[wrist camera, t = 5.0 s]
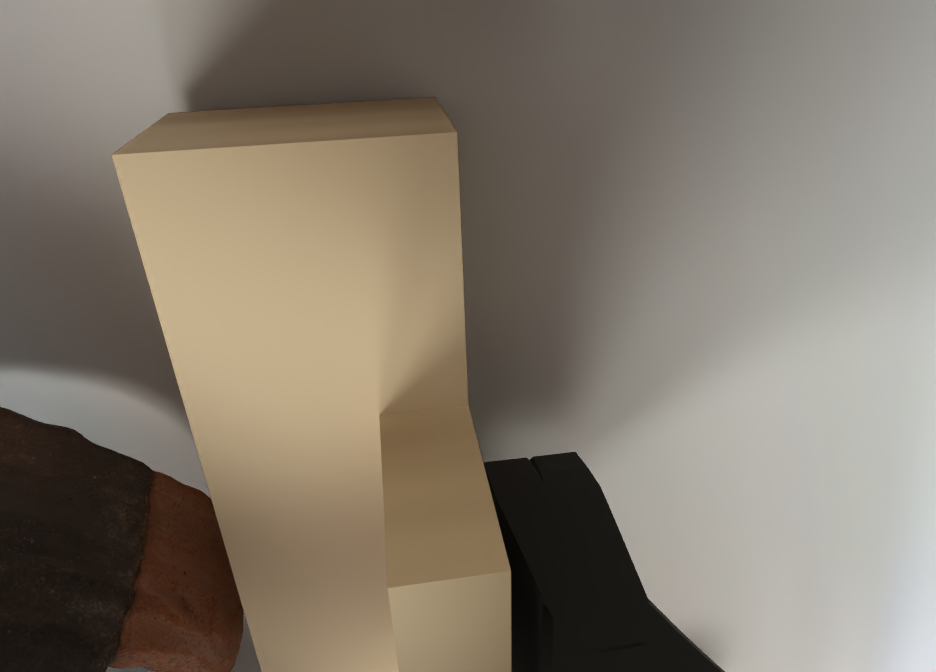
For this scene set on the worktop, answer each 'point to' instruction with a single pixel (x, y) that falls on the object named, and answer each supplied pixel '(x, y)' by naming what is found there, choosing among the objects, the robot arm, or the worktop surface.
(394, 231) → the beige wooden block
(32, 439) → the pottery mug
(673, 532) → the worktop surface
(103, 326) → the worktop surface
